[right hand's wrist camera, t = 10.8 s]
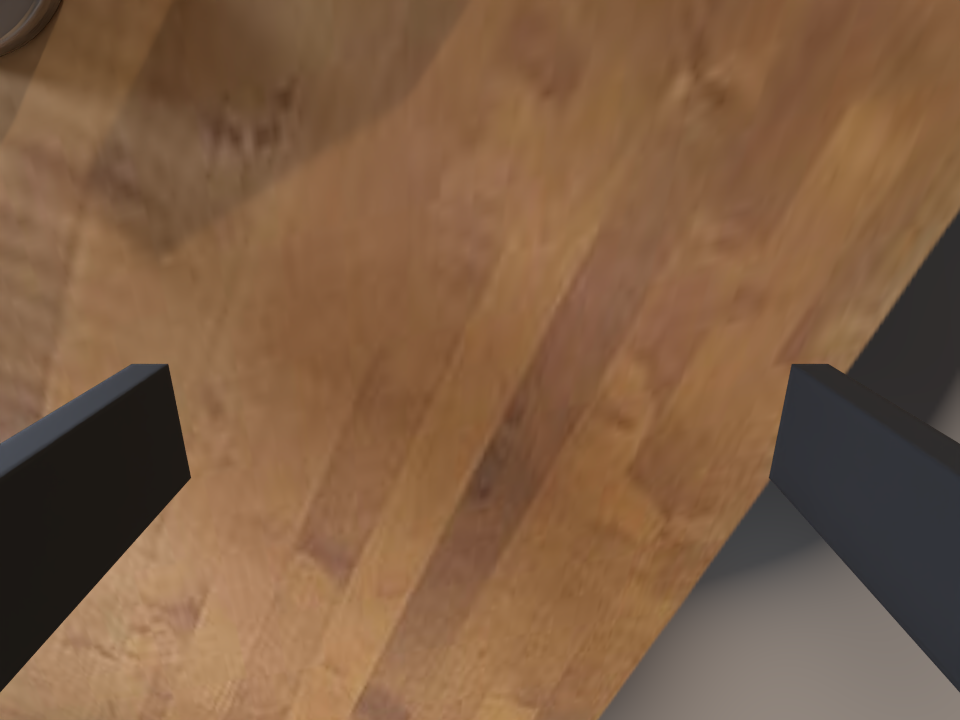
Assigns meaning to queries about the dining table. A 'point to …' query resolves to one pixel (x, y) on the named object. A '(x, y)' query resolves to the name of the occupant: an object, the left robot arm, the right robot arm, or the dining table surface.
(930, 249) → the dining table surface
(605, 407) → the dining table surface
